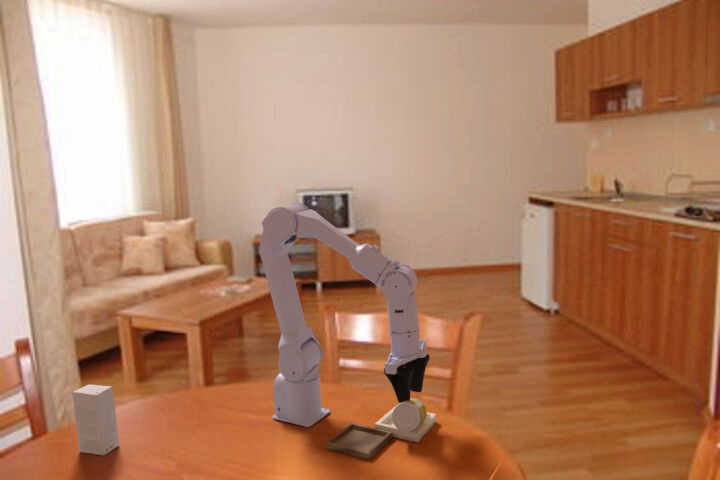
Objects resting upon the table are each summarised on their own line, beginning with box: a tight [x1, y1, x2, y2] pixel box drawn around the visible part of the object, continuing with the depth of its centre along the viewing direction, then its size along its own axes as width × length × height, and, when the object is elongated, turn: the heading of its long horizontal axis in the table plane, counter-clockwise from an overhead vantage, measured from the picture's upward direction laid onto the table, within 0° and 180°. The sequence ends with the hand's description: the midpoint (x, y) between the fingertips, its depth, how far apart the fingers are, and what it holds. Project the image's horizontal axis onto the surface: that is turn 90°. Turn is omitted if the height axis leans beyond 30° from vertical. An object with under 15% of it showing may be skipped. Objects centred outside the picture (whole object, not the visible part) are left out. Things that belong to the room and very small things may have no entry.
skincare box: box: [72, 383, 120, 456], centre depth 107 cm, size 6×4×12 cm
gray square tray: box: [325, 422, 393, 461], centre depth 106 cm, size 9×9×1 cm
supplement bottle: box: [392, 397, 428, 432], centre depth 108 cm, size 5×5×10 cm
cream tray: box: [374, 405, 437, 443], centre depth 111 cm, size 9×9×2 cm
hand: (410, 396), depth 110 cm, fingers open, 5 cm apart
